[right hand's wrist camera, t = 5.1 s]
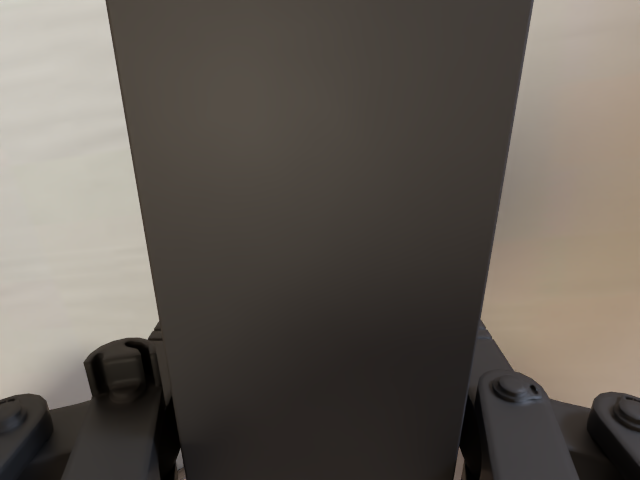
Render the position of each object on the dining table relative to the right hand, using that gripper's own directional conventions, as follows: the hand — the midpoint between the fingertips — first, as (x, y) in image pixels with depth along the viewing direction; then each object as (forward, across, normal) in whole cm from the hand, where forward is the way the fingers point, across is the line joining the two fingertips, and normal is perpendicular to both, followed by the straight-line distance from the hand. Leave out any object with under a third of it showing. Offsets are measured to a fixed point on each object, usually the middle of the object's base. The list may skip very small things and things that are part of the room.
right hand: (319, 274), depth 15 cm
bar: (+1, 0, -9) cm, 9 cm away
